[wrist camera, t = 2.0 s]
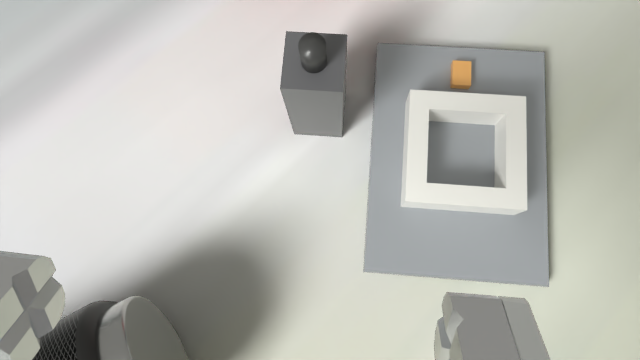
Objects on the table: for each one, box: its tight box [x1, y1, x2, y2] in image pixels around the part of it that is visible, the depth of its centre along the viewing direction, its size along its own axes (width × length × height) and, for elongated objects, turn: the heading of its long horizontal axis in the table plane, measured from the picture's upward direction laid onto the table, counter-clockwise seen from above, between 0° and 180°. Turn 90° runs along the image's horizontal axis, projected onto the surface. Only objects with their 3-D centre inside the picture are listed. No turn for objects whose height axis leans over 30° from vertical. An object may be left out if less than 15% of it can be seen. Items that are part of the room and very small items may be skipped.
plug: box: [280, 31, 347, 137], centre depth 32 cm, size 4×4×11 cm
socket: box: [363, 43, 549, 287], centre depth 34 cm, size 18×13×4 cm
